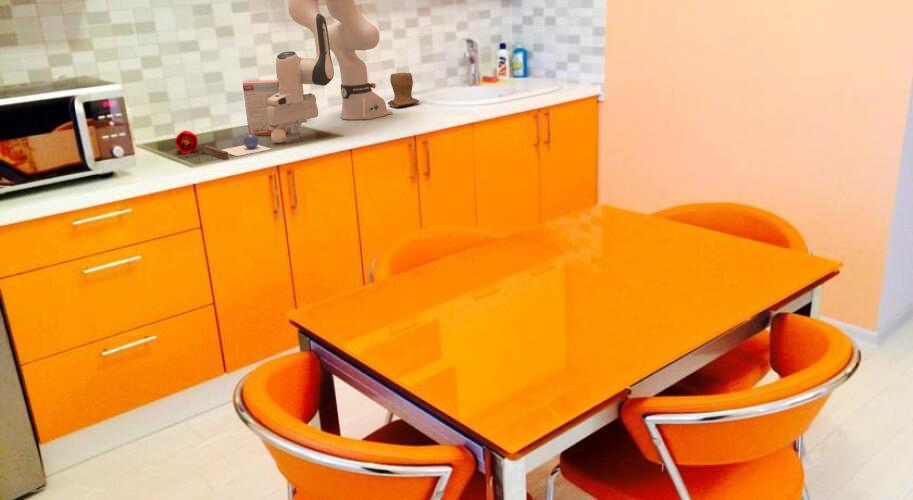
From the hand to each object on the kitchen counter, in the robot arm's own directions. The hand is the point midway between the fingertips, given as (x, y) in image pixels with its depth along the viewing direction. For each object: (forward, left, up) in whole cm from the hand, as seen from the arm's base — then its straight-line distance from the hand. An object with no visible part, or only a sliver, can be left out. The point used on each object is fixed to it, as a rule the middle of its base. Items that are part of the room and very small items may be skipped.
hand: (295, 132), depth 310 cm
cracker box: (+2, -19, -3) cm, 19 cm away
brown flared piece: (-70, -25, -3) cm, 75 cm away
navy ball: (+19, 0, 0) cm, 19 cm away
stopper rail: (+33, 0, -3) cm, 33 cm away
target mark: (+22, 0, -3) cm, 22 cm away
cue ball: (+7, 0, 0) cm, 7 cm away
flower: (+37, -16, -3) cm, 40 cm away
